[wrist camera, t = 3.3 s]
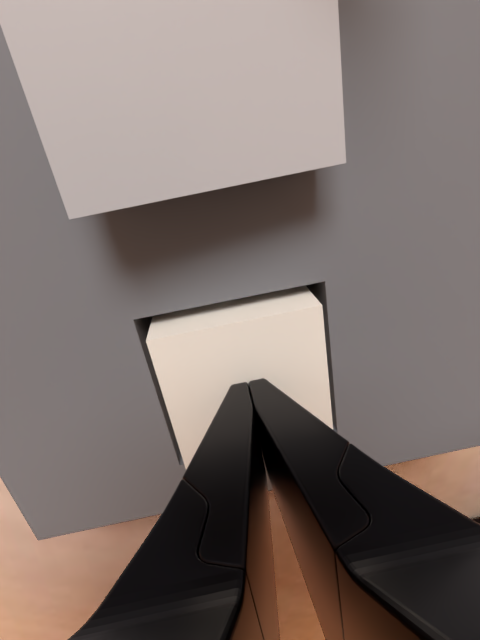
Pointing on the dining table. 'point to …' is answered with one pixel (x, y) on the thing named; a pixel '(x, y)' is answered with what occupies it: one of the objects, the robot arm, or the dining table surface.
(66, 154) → the pale grey slab
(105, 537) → the dining table surface
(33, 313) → the console
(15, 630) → the dining table surface
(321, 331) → the push button
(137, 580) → the robot arm
